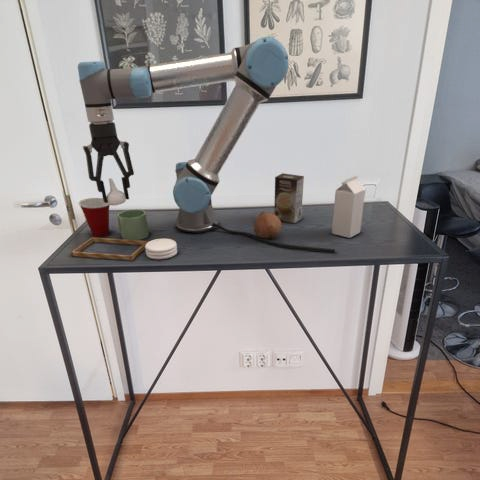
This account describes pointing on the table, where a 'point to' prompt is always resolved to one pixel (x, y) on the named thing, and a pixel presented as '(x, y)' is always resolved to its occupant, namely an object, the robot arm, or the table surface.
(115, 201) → the garlic bulb
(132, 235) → the cup
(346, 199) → the milk carton
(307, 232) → the table surface
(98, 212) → the plastic cup
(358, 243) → the table surface
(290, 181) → the coffee box
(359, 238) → the table surface
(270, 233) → the onion
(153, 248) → the coaster
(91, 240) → the frame
